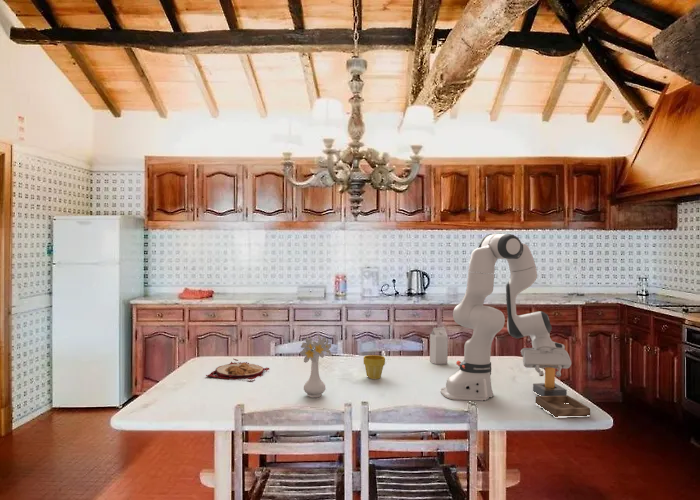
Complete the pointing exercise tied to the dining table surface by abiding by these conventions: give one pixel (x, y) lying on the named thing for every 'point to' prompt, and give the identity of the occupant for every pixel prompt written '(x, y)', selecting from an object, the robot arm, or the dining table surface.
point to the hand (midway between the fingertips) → (550, 375)
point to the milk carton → (438, 346)
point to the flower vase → (314, 365)
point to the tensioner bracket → (549, 390)
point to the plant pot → (374, 366)
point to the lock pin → (549, 377)
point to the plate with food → (238, 371)
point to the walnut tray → (562, 406)
